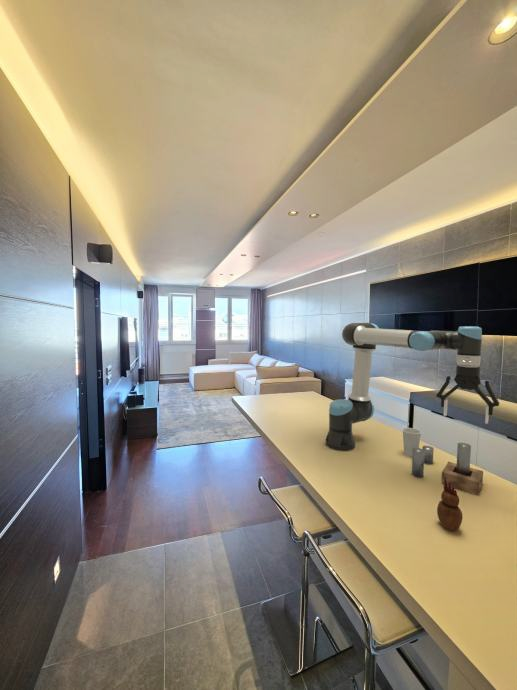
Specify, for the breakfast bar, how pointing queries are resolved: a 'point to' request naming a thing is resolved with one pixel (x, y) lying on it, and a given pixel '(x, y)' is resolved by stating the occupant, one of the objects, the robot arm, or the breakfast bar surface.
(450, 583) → the breakfast bar surface
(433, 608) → the breakfast bar surface
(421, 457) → the medium pin
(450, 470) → the hole block
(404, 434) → the cup
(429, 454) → the short pin
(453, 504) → the wooden figurine
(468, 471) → the long pin
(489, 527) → the breakfast bar surface
